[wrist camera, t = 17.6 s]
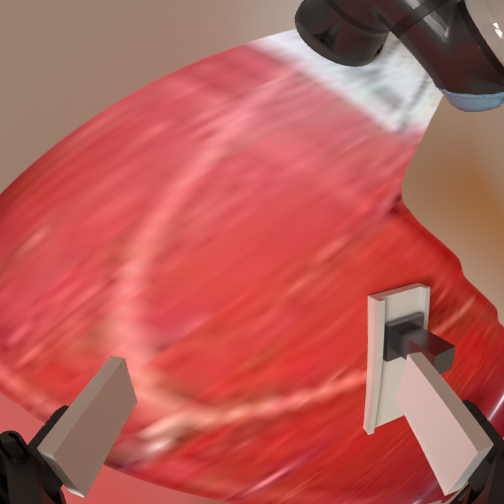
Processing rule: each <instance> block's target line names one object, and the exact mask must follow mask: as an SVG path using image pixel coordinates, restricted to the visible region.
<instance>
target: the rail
mask: <svg viewBox="0 0 504 504" xmlns="http://www.w3.org/2000/svg"><path fill="white" fill-rule="evenodd" d="M429 302H430V287H429V286H426V285H423V284H420V283H415V284H411V285H407V286H404V287H400V288H396V289H392V290H388V291H385V292H381V293H377V294H373V295H369V296H368V366H367V388H366V403H365V415H364V426H363V428H364V429H365V431H366V432H367V433H368V435H370V434H372V433H374V428H375V427H378V426H380V425H383V424H385V423H387V422H390V421H392V420H394V419H396V418H399V417H401V416H403V415H404V413H403V411H402V410H401V408H400V406H399V404H398V402H397V400H396V399H395V398H396V395H397V392H398V388H399V385H400V381H401V378H402V374H403V370H404V367H405V363H406V360H405V359H404V358H402V357H400V358H397V359H394V360H392V361H389V362H386V361H385V360H384V359H383V345H384V324H385V323H388V322H391V321H394V320H398V319H401V318H404V317H407V316H410V315H413V314H416V313H418V312H419V313H421V314H423V315H424V326H423V328H424V329H425V330H427V328H428V316H429Z"/></svg>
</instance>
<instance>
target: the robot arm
mask: <svg viewBox="0 0 504 504" xmlns="http://www.w3.org/2000/svg"><path fill="white" fill-rule="evenodd" d="M295 25H296V28H297V31H298V33H299V35H300V36H301V38H302V39H303V40H304V42H305V43H306V44H307V45H308V46H309V47H310V48H312V49H313V50H314V51H315V52H317V53H318V54H320V55H321V56H323V57H324V58H326V59H328V60H330V61H333V62H335V63H338V64H341V65H345V66H352V67H358V66H363V65H366V64H368V63H370V62H371V61H372V60H374V59H375V58H376V57H377V56H378V55H379V54H380V52H381V51H382V48H383V45H384V43H385V41H386V38H387V36H388V33H389V32H390V31H391V32H392V33H393V34H394V35H395V36H396V37H397V38H398V39H399V40H400V41H401V42H402V43H403V44H404V46H405V47H406V48H407V49H408V50H409V51H410V52H411V54H412V55H413V56H414V57H415V58H416V59H417V61H418V62H419V63H420V64H421V65H422V67H423V68H424V69H425V70H426V72H427V73H428V74H429V76H430V77H431V78H432V80H433V83H434V85H435V86H436V87H437V88H438V89H439V90H440V91H441V92H442V93H443V94H444V96H445V97H446V98H447V100H448V101H449V102H450V103H451V104H452V105H453V106H454V107H456V108H458V109H459V110H462V111H466V112H481V111H486V110H491V109H494V108H497V107H500V106H501V104H502V103H504V0H304V1H303V2H302V3H301V5H300V6H299V8H298V10H297V12H296V15H295ZM395 399H396V400H397V402H398V404H399V406H400V408H401V410H402V411H403V413H404V415H405V417H406V419H407V421H408V422H409V424H410V426H411V428H412V430H413V432H414V434H415V436H416V438H417V440H418V442H419V443H420V445H421V447H422V449H423V451H424V453H425V455H426V457H427V459H428V461H429V463H430V465H431V467H432V469H433V471H434V473H435V476H436V478H437V480H438V482H439V484H440V486H441V488H442V490H443V492H444V495H448V494H450V493H452V492H455V491H457V490H459V489H461V488H462V486H463V485H464V484H465V483H466V482H467V480H468V482H469V484H470V486H469V487H468V488H467V489H466V491H465V492H464V493H463V494H462V495H461V496H460V498H459V500H460V501H461V499H462V498H463V497H464V496H465V498H464V501H463V504H504V440H503V439H502V438H501V436H500V435H499V434H498V432H497V431H496V430H495V428H494V427H493V426H492V425H491V423H490V422H489V421H488V420H487V418H486V417H485V416H484V414H483V415H482V412H481V411H480V409H479V408H478V407H477V406H476V405H475V404H473V403H472V402H470V401H469V400H465V401H461V400H460V399H459V397H458V396H457V395H456V394H455V392H454V391H453V390H452V389H451V387H450V386H449V385H448V384H447V382H446V381H445V380H444V379H443V378H442V376H441V375H440V374H439V373H438V372H437V370H436V369H435V368H434V367H433V366H432V364H431V363H430V362H429V361H428V360H427V358H426V357H425V356H424V355H423V354H422V353H421V352H417V353H412V354H408V355H407V359H406V363H405V367H404V370H403V374H402V378H401V381H400V385H399V388H398V392H397V395H396V398H395ZM136 403H137V399H136V396H135V392H134V389H133V386H132V382H131V379H130V376H129V372H128V368H127V365H126V361H125V358H120V357H113V356H111V357H110V358H109V360H108V361H107V362H106V363H105V364H104V365H103V367H102V368H101V369H100V370H99V371H98V373H97V374H96V375H95V376H94V377H93V379H92V380H91V381H90V382H89V383H88V385H87V386H86V387H85V388H84V389H83V391H82V392H81V393H80V394H79V396H78V397H77V398H76V399H75V400H74V402H73V403H72V404H71V405H70V407H69V406H66V405H64V406H63V407H61V408H59V409H58V410H56V411H55V412H54V413H53V415H52V416H51V417H50V420H48V421H47V422H46V423H45V426H43V427H42V428H41V429H40V430H39V432H38V433H37V434H36V435H35V437H34V438H33V439H32V440H31V442H30V443H29V444H28V445H27V444H26V443H25V441H24V439H23V438H22V436H21V435H20V434H19V433H18V432H15V431H6V432H3V433H2V434H0V504H66V501H65V498H64V494H63V492H62V490H61V489H60V488H61V486H62V485H63V484H64V485H65V487H66V488H67V489H68V490H69V491H70V492H72V493H75V494H77V495H79V496H82V497H84V498H85V497H86V495H87V493H88V492H89V490H90V488H91V486H92V484H93V482H94V480H95V478H96V476H97V474H98V473H99V471H100V469H101V467H102V465H103V463H104V461H105V459H106V458H107V456H108V454H109V452H110V450H111V448H112V447H113V445H114V443H115V441H116V439H117V437H118V436H119V434H120V432H121V430H122V428H123V426H124V425H125V423H126V421H127V419H128V417H129V416H130V414H131V412H132V410H133V408H134V407H135V405H136Z"/></svg>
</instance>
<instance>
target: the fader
mask: <svg viewBox="0 0 504 504" xmlns="http://www.w3.org/2000/svg"><path fill="white" fill-rule="evenodd" d="M423 326H424V315H423V314H421V313H419V312H418V313H416V314H413V315H410V316H407V317H404V318H401V319H398V320H394V321H391V322H388V323H385V324H384V345H383V359H384V360H385V361H386V362H389V361H392V360H394V359H397V358H400V357H402V358H404V359H405V360H406V359H407V355H408V354H412V353H417V352H421V353H422V354H423V355H424V356H425V357H426V358H427V360H428V361H429V362H430V363H431V364H432V366H433V367H434V368H435V369H436V370H437V372H438V373H439V374H442V373H444V372H446V371H447V370H449V369H451V368H452V363H453V358H454V352H455V347H456V346H454V345H453V344H451V343H449V342H447V341H445V340H444V339H442V338H440V337H438V336H436V335H434V334H433V333H431V332H429V331H427V330H425V329H424V328H423Z"/></svg>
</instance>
